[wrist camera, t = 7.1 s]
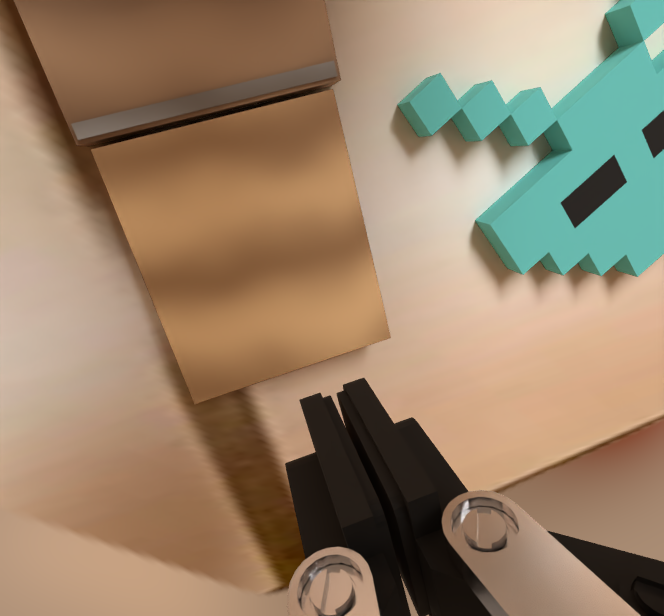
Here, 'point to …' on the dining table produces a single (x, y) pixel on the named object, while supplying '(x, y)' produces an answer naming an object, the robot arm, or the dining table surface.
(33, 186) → the dining table surface
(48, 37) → the walnut board
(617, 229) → the alien figure
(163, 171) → the oak plank
